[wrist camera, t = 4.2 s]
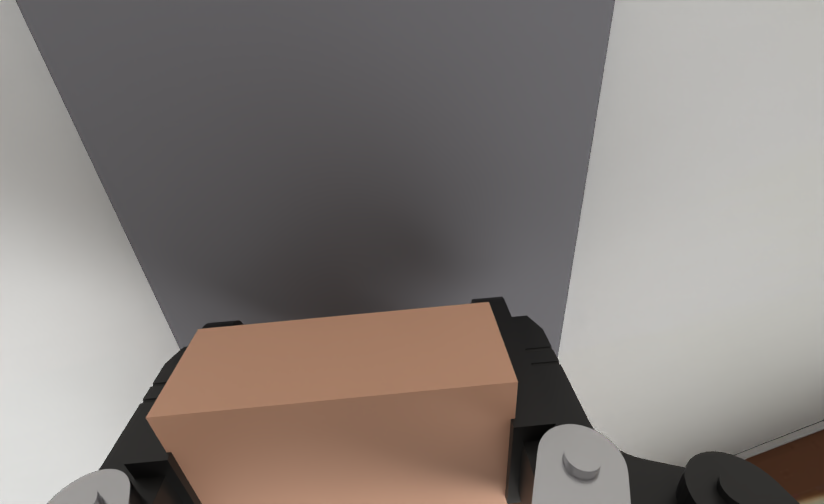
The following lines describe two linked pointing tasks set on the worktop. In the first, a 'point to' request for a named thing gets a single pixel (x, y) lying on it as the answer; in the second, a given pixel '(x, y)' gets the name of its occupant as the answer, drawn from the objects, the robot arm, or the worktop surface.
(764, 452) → the food container
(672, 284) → the worktop surface
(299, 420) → the cover plate
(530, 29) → the charcoal mat
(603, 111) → the worktop surface
